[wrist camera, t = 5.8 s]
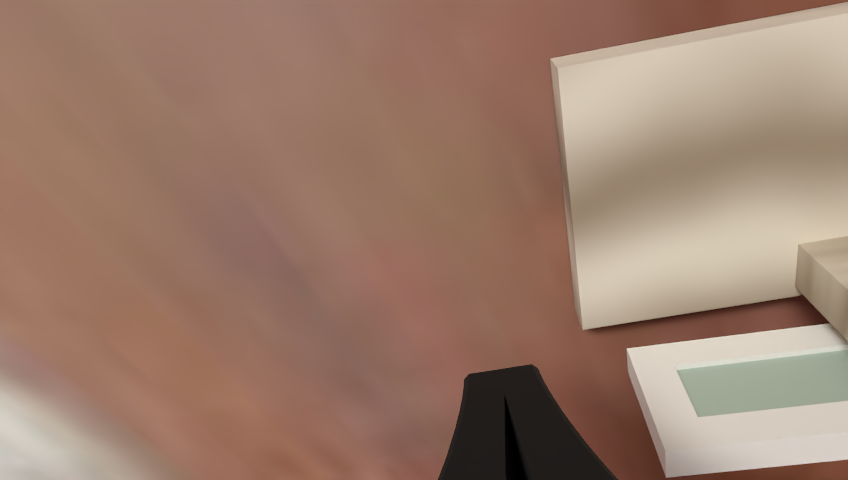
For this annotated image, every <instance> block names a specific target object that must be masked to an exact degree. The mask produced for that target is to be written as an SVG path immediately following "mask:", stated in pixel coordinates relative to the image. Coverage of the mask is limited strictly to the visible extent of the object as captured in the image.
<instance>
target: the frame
mask: <svg viewBox="0 0 848 480" xmlns="http://www.w3.org/2000/svg"><path fill="white" fill-rule="evenodd" d="M627 362H628V373H629V376H630V379H631V382H632V385H633V387H634V390H635V393H636V396H637V398H638V401H639V404H640V407H641V410H642V412H643V415H644V418H645V421H646V423H647V426H648V429H649V432H650V435H651V437H652V440H653V443H654V446H655V448H656V451H657V454H658V457H659V460H660V462H661V465H662V468H663V471H664V473H665V476H666V478H667V477H677V476H687V475H697V474H707V473H717V472H727V471H737V470H747V469H757V468H767V467H777V466H787V465H797V464H807V463H817V462H827V461H836V460H846V459H848V341H847V340H846V339H845V338H844V337H843V336H842V335H841V334H840V333H839V332H838V331H837V329H836V328H835V327H834V326H833V325H832V324H831V323H828V324H820V325H812V326H804V327H796V328H788V329H780V330H772V331H764V332H756V333H748V334H740V335H732V336H724V337H716V338H708V339H700V340H692V341H684V342H676V343H668V344H660V345H652V346H643V347H635V348H627Z"/></svg>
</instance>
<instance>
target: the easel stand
mask: <svg viewBox="0 0 848 480" xmlns="http://www.w3.org/2000/svg"><path fill="white" fill-rule="evenodd" d="M550 63H551V73H552V83H553V93H554V103H555V113H556V123H557V133H558V142H559V152H560V162H561V172H562V182H563V192H564V202H565V212H566V222H567V232H568V242H569V251H570V261H571V271H572V281H573V291H574V301H575V310H576V313H577V316H578V318H579V321H580V324H581V326H582V329H583V330H585V329H591V328H598V327H604V326H610V325H617V324H623V323H629V322H636V321H642V320H648V319H655V318H661V317H667V316H674V315H680V314H686V313H693V312H699V311H705V310H712V309H718V308H724V307H731V306H737V305H743V304H750V303H756V302H762V301H769V300H775V299H781V298H788V297H794V296H800V295H804V296H805V297H806V298H807V299H808V300H809V301H810V302H811V304H812V305H813V306H814V307H815V308H816V309H817V310H818V311H819V312H820V313H821V314H822V315H823V316H824V317H825V318H826V319H827V320H828V321H829V322H830V323H831V324H832V325H833V326H834V327H835V328H836V329H837V331H838V332H839V333H840V334H841V335H842V336H843V337H844V338H845V339H846V340H847V341H848V2H845V3H840V4H834V5H829V6H824V7H819V8H813V9H808V10H803V11H798V12H792V13H787V14H782V15H777V16H771V17H766V18H761V19H756V20H750V21H745V22H740V23H735V24H729V25H724V26H719V27H714V28H708V29H703V30H698V31H693V32H687V33H682V34H677V35H672V36H666V37H661V38H656V39H651V40H645V41H640V42H635V43H630V44H624V45H619V46H614V47H609V48H603V49H598V50H593V51H588V52H582V53H577V54H572V55H567V56H561V57H556V58H551V59H550Z"/></svg>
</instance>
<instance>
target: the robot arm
mask: <svg viewBox="0 0 848 480" xmlns="http://www.w3.org/2000/svg"><path fill="white" fill-rule="evenodd" d="M438 480H618V479H617V478H616V477H615V476H614V475H613V474H612V472H611V471H610V470H609V469H608V468H607V467H606V466H605V465H604V463H603V462H602V461H601V460H600V459H599V458H598V457H597V455H596V454H595V453H594V452H593V451H592V449H591V448H590V447H589V446H588V445H587V443H586V442H585V441H584V439H583V438H582V437H581V436H580V434H579V433H578V432H577V430H576V429H575V428H574V426H573V425H572V424H571V422H570V421H569V420H568V418H567V417H566V416H565V414H564V413H563V411H562V410H561V408H560V407H559V405H558V404H557V402H556V401H555V399H554V398H553V396H552V394H551V393H550V391H549V389H548V388H547V386H546V384H545V382H544V380H543V378H542V376H541V374H540V372H539V370H538V368H537V367H535V366H533V365H532V364H531V365H524V366H518V367H511V368H505V369H499V370H492V371H486V372H479V373H473V374H469V375H468V376H467V377H466V378H465V379H464V390H463V397H462V402H461V407H460V412H459V416H458V420H457V424H456V428H455V431H454V434H453V438H452V441H451V444H450V447H449V451H448V454H447V457H446V460H445V463H444V465H443V468H442V470H441V473H440V476H439V478H438Z"/></svg>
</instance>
